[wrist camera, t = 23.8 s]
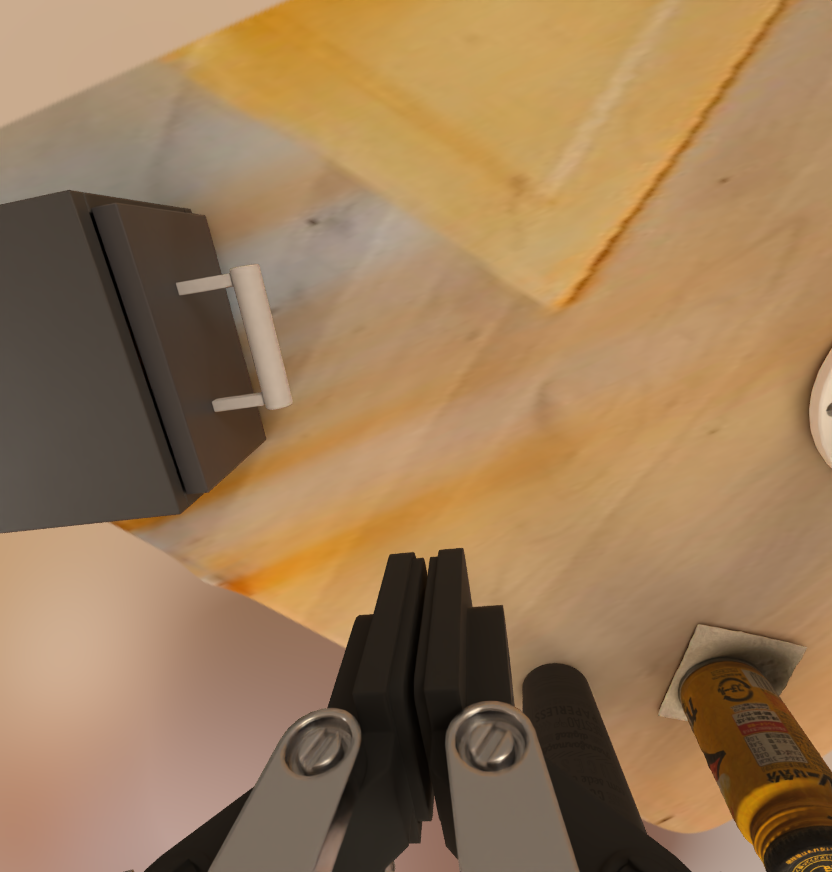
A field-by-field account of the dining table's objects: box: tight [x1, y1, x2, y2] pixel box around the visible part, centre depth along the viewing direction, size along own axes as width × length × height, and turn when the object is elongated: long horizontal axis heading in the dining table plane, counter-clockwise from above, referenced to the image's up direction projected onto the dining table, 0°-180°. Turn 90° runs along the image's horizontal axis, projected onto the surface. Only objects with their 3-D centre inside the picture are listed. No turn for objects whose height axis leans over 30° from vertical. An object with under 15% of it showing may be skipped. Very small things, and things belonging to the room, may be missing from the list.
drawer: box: [92, 203, 293, 495], centre depth 28 cm, size 20×13×8 cm
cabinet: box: [0, 190, 204, 533], centre depth 29 cm, size 17×15×10 cm
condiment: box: [658, 624, 832, 872], centre depth 31 cm, size 7×8×12 cm
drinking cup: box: [523, 664, 647, 834], centre depth 29 cm, size 8×8×20 cm
